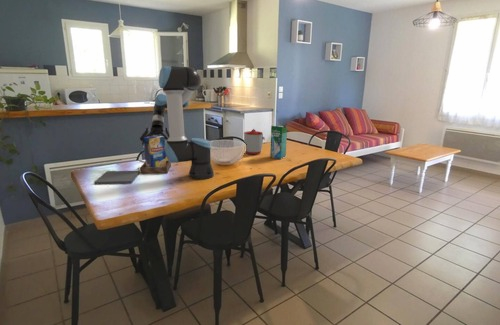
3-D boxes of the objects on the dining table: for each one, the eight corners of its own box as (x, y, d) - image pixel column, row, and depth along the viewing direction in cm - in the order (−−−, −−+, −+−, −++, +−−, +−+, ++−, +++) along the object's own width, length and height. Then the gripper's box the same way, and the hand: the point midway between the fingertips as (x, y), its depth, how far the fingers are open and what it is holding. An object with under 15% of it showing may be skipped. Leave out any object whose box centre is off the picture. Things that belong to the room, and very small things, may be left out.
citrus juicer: (265, 155, 235) (265, 130, 229) (243, 155, 235) (243, 130, 230) (264, 151, 250) (265, 127, 244) (243, 150, 250) (244, 127, 245)
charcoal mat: (140, 172, 188) (139, 170, 188) (131, 183, 169) (131, 181, 168) (107, 173, 186) (106, 171, 185) (94, 184, 167) (94, 181, 166)
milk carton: (285, 157, 232) (287, 125, 225) (280, 159, 225) (282, 126, 218) (275, 155, 237) (276, 124, 230) (270, 157, 230) (271, 125, 223)
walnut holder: (171, 166, 203) (170, 160, 202) (167, 173, 188) (166, 167, 187) (146, 166, 202) (145, 160, 201) (140, 173, 186) (139, 167, 185)
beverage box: (166, 169, 197) (164, 136, 191) (151, 172, 189) (149, 138, 183) (160, 167, 201) (158, 135, 195) (146, 170, 193) (143, 137, 187)
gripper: (177, 126, 208) (175, 152, 197) (140, 126, 205) (136, 152, 195) (175, 119, 201) (173, 146, 191) (137, 119, 199) (133, 146, 188)
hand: (154, 149), depth 193 cm, fingers open, 13 cm apart
